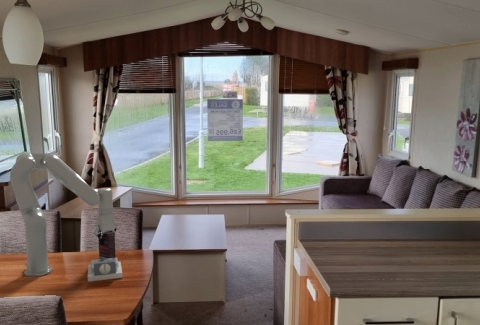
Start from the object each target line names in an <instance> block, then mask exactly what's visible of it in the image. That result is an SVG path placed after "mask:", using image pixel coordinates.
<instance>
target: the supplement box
mask: <svg viewBox="0 0 480 325" xmlns="http://www.w3.org/2000/svg"><path fill="white" fill-rule="evenodd" d="M98 233H99V232H98ZM101 234H102V233H101ZM97 238H98V237H97ZM103 238H104V245H99V244H98V257H99V258H98V259H107V258H116V232H111V231H109V232H106V233H104V235H103ZM98 241H99V238H98Z"/></svg>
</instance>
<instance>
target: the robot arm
mask: <svg viewBox="0 0 480 325" xmlns="http://www.w3.org/2000/svg"><path fill="white" fill-rule="evenodd" d="M34 170H45V171H46V172H48V173H49V174H50V175H51V176H53V177H54V178H55V179H56V180H57V181H59V182H60V183H61V184H62V185H64V187H66V189H68V190H70V191H71V192H72V193H74V194H75V196H77V197H78V198H80V199H81V200H82V201H83V202H85V204H86V205H88V206H89V207H90V206H91V207H95V206H97V208H98V211H97V212H98V214H97V215H96V221H95V223H96V224H95V230H94V231H93V234H94V235H95V236H96V237H97V238H99V240H98V246H99V245H104V238H103V235H104V233H106V232H109V231H111V232H115V233H117V229H118V228H119V225H118V224H117V223H116V217H115V212H114V205H113V204H114V203H113V202H114V201H113V190H112V188H109V187H101V188H93V187H92V186H91V185H90V184H88V183H87V182H86V181H85V180H84V179H83V178H82V177H81V176H80V175H79V174H78V173H77V172H76V171H74V170H73V169H72V168H71V167H70V166H69V165H67V163H65V161H63V160H62V159H61V158H60V157H58V156H57V155H56V154H54V153H50V152H49V153H47V152H44V153H43V152H42V153H41V152H36V153H35V152H34V153H33V152H24V153H20V154H18V156H17V157H16V160H15V163H14V164H13V165H12V167H11V169H10V173H9V181H10V184H11V187H12V190H13V193H14V196H15V200H16V203H17V204H16V205H17V206H18V209H19V211H20V215H21V217H22V219H23V223H24V229H25V233H24V234H25V246H26V260H27V262H26V263H24V266H26V269H25V270H24V276H27V277H32V278H33V277H41V276H45V275H47V274H51V272H52V271H53V268H52V266H50V265H49V253H48V252H49V251H48V237H47V236H48V234H47V230H48V229H47V224H48V223H47V222H48V221H47V218H46V215H45V214H44V211H43V209H42V206H41V204H40V201H39V198H38V195H37V193H36V192H35V190H34V187H33V184H32V180H31V178H30V176H31V173H32V172H33V171H34ZM98 232H99V233H98ZM101 233H102V234H101Z"/></svg>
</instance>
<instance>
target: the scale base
mask: <svg viewBox="0 0 480 325" xmlns="http://www.w3.org/2000/svg"><path fill="white" fill-rule="evenodd" d="M122 278H123V268H122V263H121V260H120V261H119V260H118V267H116V263H115V260H113V261H104V262H94V270H91V263H90V264H88V265H87V282H95V281H103V280H106V281H107V280H113V279H122Z"/></svg>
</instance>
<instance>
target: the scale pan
mask: <svg viewBox="0 0 480 325" xmlns="http://www.w3.org/2000/svg"><path fill="white" fill-rule="evenodd" d="M113 260H115V263H116V267H118V262H119V260H118V257H116V258H107V259H99V258H98V259H90V264H91V270H94V262H104V261H113Z"/></svg>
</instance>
